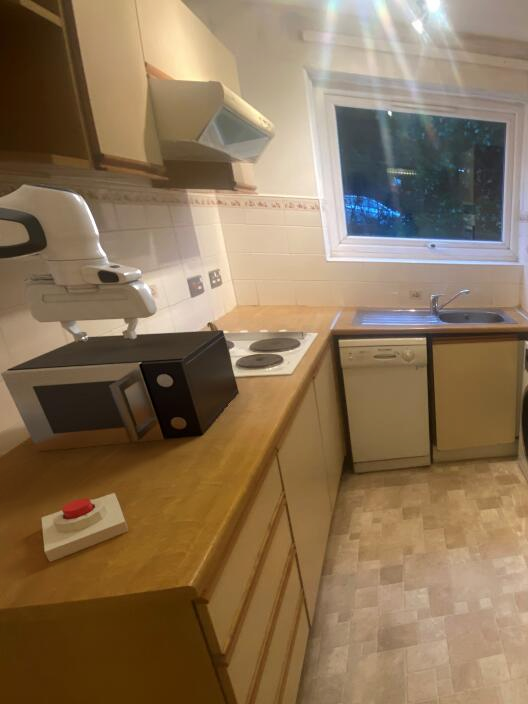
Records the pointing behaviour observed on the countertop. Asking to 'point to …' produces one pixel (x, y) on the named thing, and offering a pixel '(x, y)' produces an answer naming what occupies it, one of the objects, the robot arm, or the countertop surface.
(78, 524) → the button block
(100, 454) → the countertop surface
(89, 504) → the button
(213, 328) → the vegetable
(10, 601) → the countertop surface
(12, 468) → the countertop surface
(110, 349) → the microwave
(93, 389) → the microwave door
